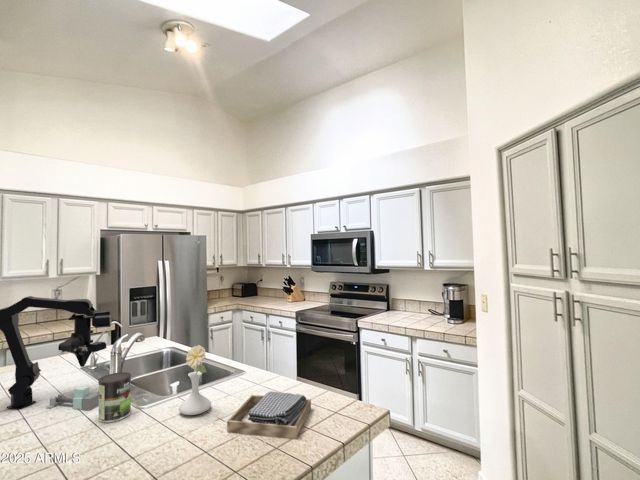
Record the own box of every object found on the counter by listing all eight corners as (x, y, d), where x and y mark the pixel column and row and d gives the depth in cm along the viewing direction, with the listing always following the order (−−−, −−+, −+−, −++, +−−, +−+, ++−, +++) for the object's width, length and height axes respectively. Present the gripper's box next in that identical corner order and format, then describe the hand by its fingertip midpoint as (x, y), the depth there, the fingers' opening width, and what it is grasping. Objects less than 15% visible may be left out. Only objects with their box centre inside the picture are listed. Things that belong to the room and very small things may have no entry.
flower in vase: (173, 411, 126) (173, 344, 127) (202, 401, 135) (201, 338, 136) (189, 423, 118) (189, 350, 118) (219, 411, 126) (218, 343, 127)
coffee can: (137, 410, 128) (137, 372, 128) (115, 424, 118) (115, 383, 118) (114, 408, 130) (114, 371, 130) (90, 421, 120) (91, 381, 120)
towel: (308, 412, 125) (307, 391, 125) (287, 439, 107) (286, 414, 108) (271, 407, 130) (270, 386, 130) (245, 431, 112) (245, 407, 112)
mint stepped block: (72, 408, 130) (73, 389, 130) (82, 404, 134) (82, 385, 134) (81, 409, 129) (81, 390, 129) (90, 404, 133) (90, 386, 133)
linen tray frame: (227, 432, 111) (227, 421, 112) (252, 404, 132) (251, 394, 132) (296, 438, 107) (296, 427, 107) (311, 408, 127) (310, 399, 127)
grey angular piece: (46, 408, 131) (46, 396, 131) (63, 400, 138) (63, 389, 138) (86, 412, 127) (86, 400, 127) (101, 403, 134) (101, 392, 134)
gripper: (45, 333, 137) (45, 372, 137) (84, 334, 133) (84, 374, 133) (71, 327, 148) (70, 363, 147) (107, 328, 144) (107, 365, 144)
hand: (82, 366), depth 143 cm, fingers closed
